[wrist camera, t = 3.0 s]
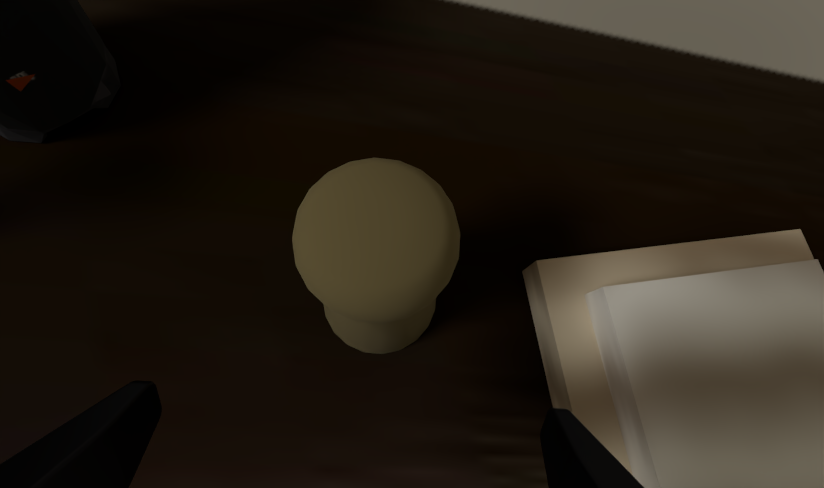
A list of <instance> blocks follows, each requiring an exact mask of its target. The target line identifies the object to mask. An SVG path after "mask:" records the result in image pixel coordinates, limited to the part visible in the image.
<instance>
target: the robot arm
mask: <svg viewBox="0 0 824 488" xmlns="http://www.w3.org/2000/svg"><path fill="white" fill-rule="evenodd" d="M161 411H162V407H161V403H160V399H159V395H158V391H157V388H156V385H155V384H154V383H153V382H151V381H133V382H131V383H129V384H127V385H126V386H124V387H122V388H121V389H119V390H118V391H116V392H114V393H113V394H111V395H110V396H108V397H106V398H105V399H103V400H102V401H100V402H98V403H97V404H95V405H94V406H92V407H91V408H89V409H87V410H86V411H84V412H83V413H81V414H79V415H78V416H76V417H75V418H73V419H71V420H70V421H68V422H67V423H65V424H63V425H62V426H60V427H59V428H57V429H55V430H54V431H52V432H51V433H49V434H47V435H46V436H44V437H43V438H41V439H40V440H38V441H36V442H35V443H33V444H32V445H30V446H28V447H27V448H25V449H24V450H22V451H20V452H19V453H17V454H16V455H14V456H12V457H11V458H9V459H8V460H6V461H4V462H3V463H1V464H0V488H129V486H130V483H131V481H132V479H133V477H134V475H135V473H136V471H137V468H138V466H139V464H140V462H141V459H142V457H143V455H144V453H145V450H146V448H147V446H148V444H149V441H150V439H151V437H152V435H153V432H154V430H155V428H156V426H157V423H158V421H159V419H160V416H161ZM540 439H541V446H542V452H543V457H544V463H545V469H546V474H547V480H548V486H549V488H644V487H643V486H642V485H641V484H640V483H639V482H638V481H637V480H636V479H635V477H634V476H633V475H632V474H631V473H630V472H629V471H628V470H627V469H626V468H625V467H624V466H623V465H622V464H621V463H620V462H619V461H618V460H617V459H616V458H615V457H614V456H613V455H612V454H611V453H610V452H609V451H608V450H607V449H606V448H605V446H604V445H603V444H602V443H601V442H600V441H599V440H598V439H597V438H596V437H595V436H594V435H593V434H592V433H591V432H590V431H589V430H588V429H587V428H586V427H585V426H584V425H583V424H582V423H581V422H580V421H579V420H578V419H577V418H576V417H575V415H574V414H573V413H572V412H571V411H569V410H568V409H566V408H550V409H549V410H548V412H547V415H546V418H545V420H544V423H543V426H542V429H541V434H540Z"/></svg>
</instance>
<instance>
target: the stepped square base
mask: <svg viewBox="0 0 824 488" xmlns="http://www.w3.org/2000/svg"><path fill="white" fill-rule="evenodd" d="M522 273H523V277H524V281H525V286H526V290H527V295H528V299H529V304H530V308H531V312H532V317H533V321H534V326H535V330H536V334H537V339H538V343H539V348H540V352H541V357H542V361H543V365H544V370H545V374H546V379H547V383H548V387H549V392H550V396H551V401H552V405H553V408H566V409H568V410H569V411H571V412H572V413H573V414H574V415H575V417H576V418H577V419H578V420H579V421H580V422H581V423H582V424H583V425H584V426H585V427H586V428H587V429H588V430H589V431H590V432H591V433H592V434H593V435H594V436H595V437H596V438H597V439H598V440H599V441H600V442H601V443H602V444H603V445H604V446H605V448H606V449H607V450H608V451H609V452H610V453H611V454H612V455H613V456H614V457H615V458H616V459H617V460H618V461H619V462H620V463H621V464H622V465H623V466H624V467H625V468H626V469H627V470H628V471H629V472H630V473H631V474H632V475H633V476H634V477H635V479H636V480H637V481H638V482H639V483H640V484H641V485H642V486H643V487H644V488H824V272H823V270H822V268H821V266H820V263H819V261H818V259H815V260H814V258H813V256H812V253H811V251H810V249H809V247H808V245H807V242H806V240H805V238H804V236H803V234H802V231H801V229H796V230H788V231H779V232H771V233H763V234H754V235H746V236H738V237H729V238H721V239H712V240H704V241H696V242H687V243H679V244H671V245H662V246H654V247H645V248H637V249H629V250H620V251H612V252H603V253H595V254H587V255H578V256H570V257H562V258H553V259H545V260H536V261H535V262H534V263H532V264H531V265H530V266H528V267H527V268H526V269H525V270H523V271H522Z"/></svg>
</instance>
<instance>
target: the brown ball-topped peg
mask: <svg viewBox="0 0 824 488" xmlns="http://www.w3.org/2000/svg"><path fill="white" fill-rule="evenodd" d="M292 242H293V249H294V256H295V263H296V267H297V269H298V271H299V273H300V274H301V276H302V278H303V280H304V282H305V284H306V286H307V288H308V289H309V290H310V291H311V292H312V293H313V294H314V295H315V296H316V297H317V298H318V299H319V300H320V301H321V302H322V303H323V304H324V310H325V316H326V318H327V320H328V322H329V324H330V326H331V327H332V329H333V331H334V333H335V334H337V335H338V336H339V337H340V338H341V339H342V340H343V341H344V342H345V343H346V344H347V345H349V346H351V347H354V348H356V349H358V350H360V351H362V352H367V353H377V354H385V353H389V352H394V351H398V350H401V349H403V348H405V347H406V346H408V345H410V344H411V343H413V342H415V341H416V340H417V339H418V338H419V337H420V336H421V334H422V333H423V332H424V331H425V330H426V329H427V327H428V326H429V324H430V321H431V319H432V316H433V314H434V311H435V304H436V297H437V296H438V295H439V293H440V292H441V291H442V290H443V289H444V288H445V287H446V285H447V284H448V283H449V281H450V279H451V276H452V274H453V271H454V269H455V266H456V264H457V262H458V259H459V246H460V230H459V225H458V222H457V218H456V215H455V211H454V207H453V204H452V203H451V201H450V200H449V198H448V197H447V195H446V194H445V192H444V191H443V189H442V188H441V186H440V185H439V184H438V183H437V182H435V181H434V180H433V179H432V178H430V177H429V176H428V175H427V174H426V173H424V172H423V171H422V170H420V169H418V168H415V167H413V166H411V165H408V164H406V163H403V162H401V161H399V160H390V159H381V158H370V159H363V160H357V161H351V162H348V163H346V164H344V165H342V166H340V167H338V168H336V169H334V170H332V171H329V172H328V173H327V174H325V175H324V176H323V177H322V178H321V179H320V180H319V181H318V182H317V183H316V184H314V185H313V186H312V187H311V188H310V189H309V191H308V193H307V195H306V196H305V198H304V200H303V201H302V203H301V205H300V207H299V208H298V211H297V216H296V221H295V226H294V231H293V237H292Z"/></svg>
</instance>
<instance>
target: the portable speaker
mask: <svg viewBox="0 0 824 488" xmlns="http://www.w3.org/2000/svg"><path fill="white" fill-rule="evenodd" d="M120 86H121V83H120V79H119V75H118V71H117V66H116V62H115V59H114V58H113V56H112V55H111V53H110V52H109V51H108V49H107V48H106V46H105V45H104V43H103V40H102V39H101V37H100V36H99V34H98V32H97V31H96V29H95V28H94V26H93V24H92V23H91V21H90V20H89V18H88V17H87V15H86V13H85V12H84V10H83V9H82V7H81V6H80V4H79V2H78V1H77V0H0V135H1V136H3V137H4V138H6V139H8V140H10V141H22V142H35V143H42V142H43V140H44V139H45V138H46V137H47V134H46V133H47V132H49V131H51V130H54V129H56V128H58V127H60V126H62V125H64V124H67V123H68V122H70V121H72V120H74V119H76V118H77V117H79V116H81V115H83V114H85V113H86V112H88V111H90V110H92V109H94V108H108V107H109V105H110V104H111V102H112V100H113V98H114V97H115V95H116V93H117V91H118V90H119V88H120Z"/></svg>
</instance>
